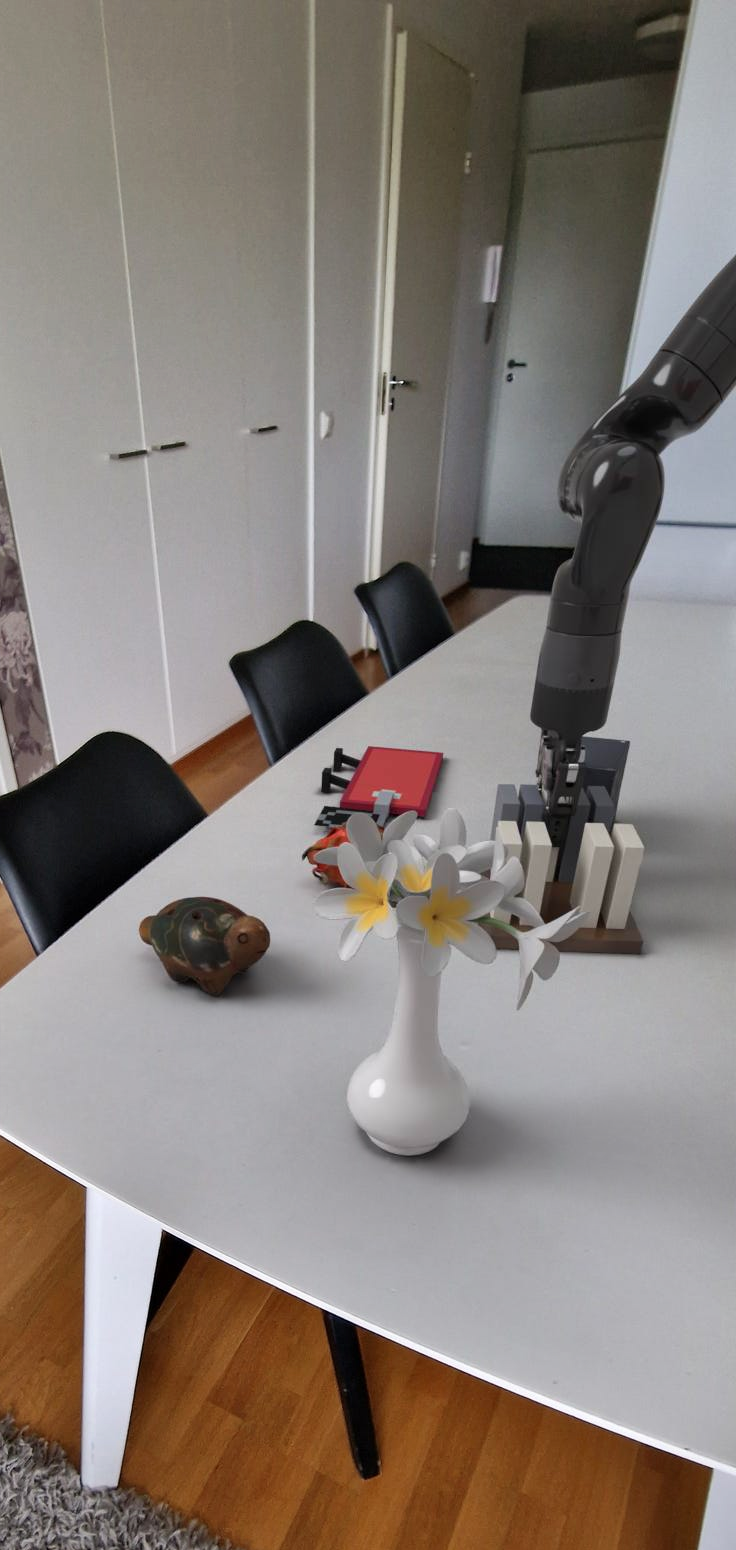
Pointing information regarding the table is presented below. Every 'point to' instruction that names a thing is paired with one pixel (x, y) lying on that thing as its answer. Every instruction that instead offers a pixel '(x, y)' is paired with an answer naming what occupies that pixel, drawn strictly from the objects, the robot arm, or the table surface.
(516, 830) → the white books
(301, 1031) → the table surface
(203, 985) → the decorative turtle
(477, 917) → the flower vase
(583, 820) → the grey books
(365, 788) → the red board with handle
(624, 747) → the small box
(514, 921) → the board
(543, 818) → the cream thin block
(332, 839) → the dragon fruit
